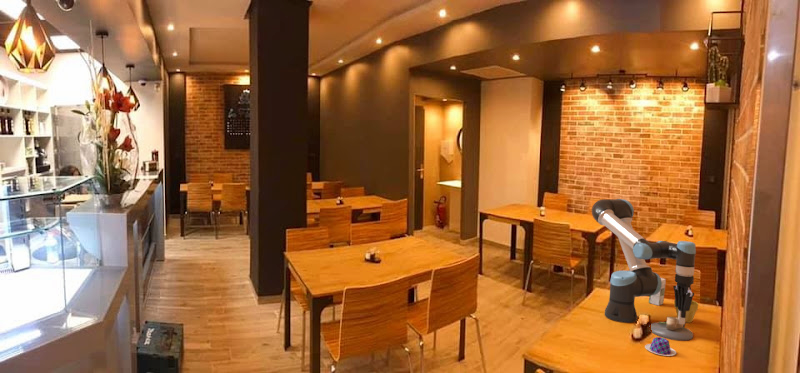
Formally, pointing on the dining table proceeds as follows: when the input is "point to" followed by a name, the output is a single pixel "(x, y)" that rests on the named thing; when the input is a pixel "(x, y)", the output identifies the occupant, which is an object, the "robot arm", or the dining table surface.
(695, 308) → the plant pot
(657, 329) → the flat grey disc
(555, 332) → the dining table surface
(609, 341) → the dining table surface
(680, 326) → the tuning peg
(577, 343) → the dining table surface
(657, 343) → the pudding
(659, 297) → the syrup box
